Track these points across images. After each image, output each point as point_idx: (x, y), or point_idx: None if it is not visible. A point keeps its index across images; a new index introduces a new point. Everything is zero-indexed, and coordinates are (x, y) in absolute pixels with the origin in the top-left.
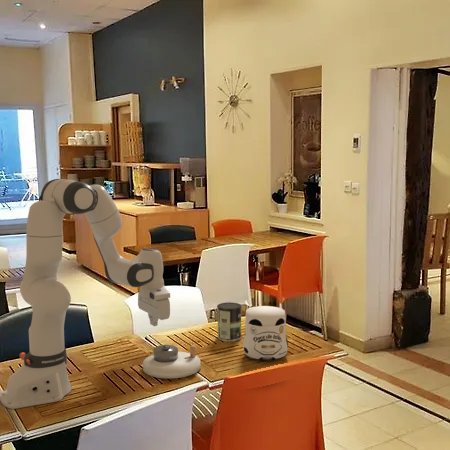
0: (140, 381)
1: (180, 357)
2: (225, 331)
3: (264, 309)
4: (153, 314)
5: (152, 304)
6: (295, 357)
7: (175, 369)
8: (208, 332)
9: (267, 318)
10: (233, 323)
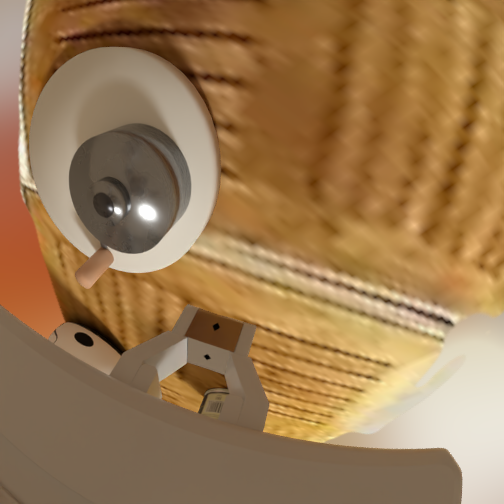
0: (99, 12)
1: None
2: (210, 410)
3: None
4: (60, 370)
5: (38, 482)
6: None
7: (45, 138)
8: (301, 410)
9: None
10: None
